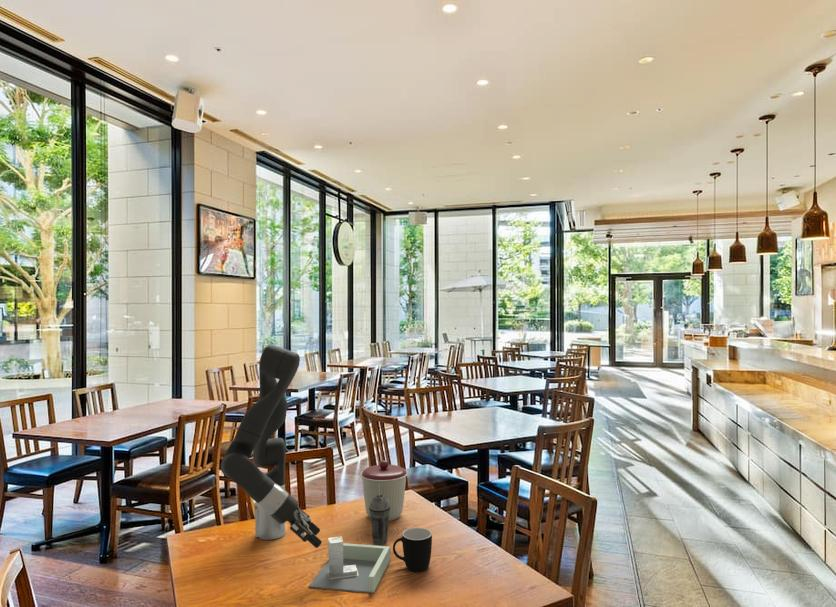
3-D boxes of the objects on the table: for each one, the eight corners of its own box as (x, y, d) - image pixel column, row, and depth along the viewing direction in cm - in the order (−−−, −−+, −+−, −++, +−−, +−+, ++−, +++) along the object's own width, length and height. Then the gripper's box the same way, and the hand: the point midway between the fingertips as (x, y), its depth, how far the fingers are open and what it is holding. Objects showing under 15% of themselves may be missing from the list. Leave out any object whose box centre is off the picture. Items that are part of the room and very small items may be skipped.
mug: (434, 561, 162) (433, 528, 162) (430, 575, 153) (429, 540, 153) (395, 558, 164) (395, 526, 164) (390, 573, 155) (389, 538, 155)
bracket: (329, 578, 151) (329, 543, 151) (328, 571, 155) (328, 537, 155) (357, 575, 153) (356, 540, 153) (355, 568, 157) (355, 534, 157)
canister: (403, 506, 209) (402, 452, 209) (412, 523, 191) (412, 465, 191) (358, 510, 205) (357, 456, 205) (363, 528, 187) (362, 469, 188)
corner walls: (308, 587, 147) (308, 571, 147) (331, 556, 166) (331, 542, 166) (374, 593, 143) (374, 576, 144) (390, 561, 162) (390, 546, 162)
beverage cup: (392, 538, 179) (391, 479, 179) (389, 547, 172) (388, 486, 172) (371, 537, 180) (370, 478, 180) (367, 546, 172) (366, 485, 173)
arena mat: (308, 587, 147) (308, 585, 147) (331, 556, 166) (331, 555, 166) (374, 593, 143) (374, 591, 143) (390, 561, 162) (390, 559, 162)
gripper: (287, 501, 144) (329, 538, 146) (287, 484, 157) (326, 519, 160) (267, 522, 142) (310, 560, 145) (269, 504, 156) (308, 538, 159)
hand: (318, 538), depth 152 cm, fingers open, 8 cm apart
